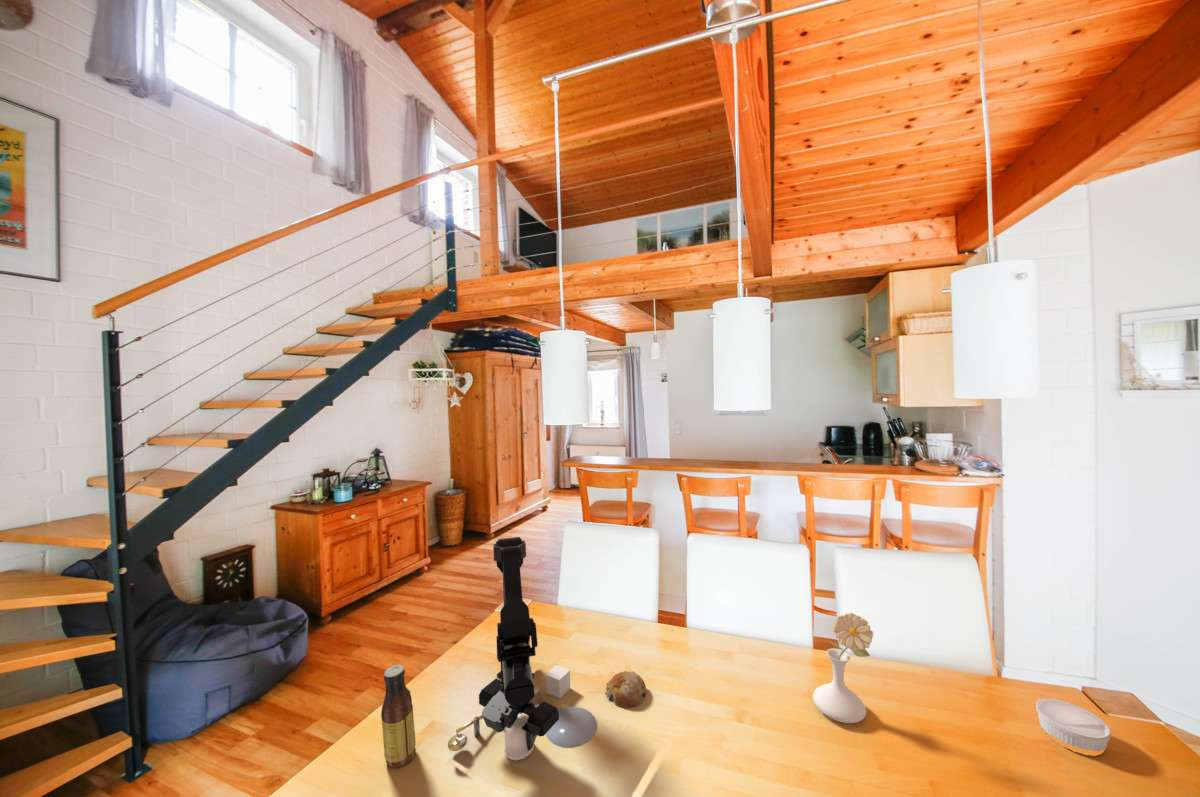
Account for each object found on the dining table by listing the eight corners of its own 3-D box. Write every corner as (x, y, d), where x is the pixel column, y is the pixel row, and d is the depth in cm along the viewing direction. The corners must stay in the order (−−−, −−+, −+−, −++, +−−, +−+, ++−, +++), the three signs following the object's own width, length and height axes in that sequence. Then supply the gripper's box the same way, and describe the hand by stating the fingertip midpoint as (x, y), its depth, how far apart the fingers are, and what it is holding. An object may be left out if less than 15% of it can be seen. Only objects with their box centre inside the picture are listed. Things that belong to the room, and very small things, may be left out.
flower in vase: (806, 712, 105) (804, 610, 104) (820, 687, 113) (819, 592, 113) (868, 741, 96) (867, 630, 95) (879, 712, 105) (878, 609, 104)
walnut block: (516, 717, 106) (515, 692, 106) (528, 705, 110) (527, 682, 110) (530, 724, 104) (529, 699, 103) (542, 712, 107) (541, 688, 107)
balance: (494, 715, 107) (494, 690, 106) (506, 721, 104) (506, 696, 104) (444, 760, 94) (443, 732, 94) (456, 768, 92) (455, 740, 92)
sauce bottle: (407, 741, 100) (404, 655, 99) (421, 755, 96) (418, 666, 95) (378, 760, 94) (374, 671, 94) (391, 776, 91) (387, 683, 90)
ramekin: (1100, 770, 88) (1100, 745, 88) (1026, 732, 98) (1026, 709, 98) (1118, 748, 93) (1119, 724, 93) (1047, 713, 103) (1047, 691, 103)
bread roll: (636, 729, 106) (650, 701, 105) (598, 706, 108) (611, 679, 107) (641, 700, 116) (653, 674, 115) (606, 679, 117) (618, 654, 117)
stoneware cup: (497, 751, 94) (496, 721, 94) (518, 731, 99) (517, 702, 99) (519, 765, 91) (518, 733, 90) (539, 743, 96) (539, 713, 96)
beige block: (546, 697, 113) (545, 674, 112) (556, 686, 116) (556, 664, 116) (559, 703, 110) (559, 680, 110) (570, 692, 114) (569, 670, 114)
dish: (534, 738, 99) (534, 733, 99) (566, 705, 109) (565, 700, 109) (577, 761, 93) (577, 756, 93) (606, 724, 103) (606, 719, 103)
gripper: (457, 680, 93) (460, 751, 93) (523, 713, 83) (526, 793, 83) (496, 652, 102) (498, 717, 103) (559, 679, 92) (561, 751, 93)
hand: (519, 742), depth 95 cm, fingers closed on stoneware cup, 6 cm apart
